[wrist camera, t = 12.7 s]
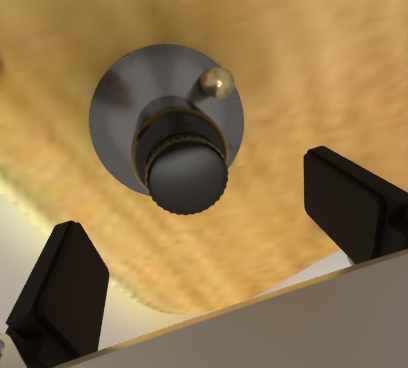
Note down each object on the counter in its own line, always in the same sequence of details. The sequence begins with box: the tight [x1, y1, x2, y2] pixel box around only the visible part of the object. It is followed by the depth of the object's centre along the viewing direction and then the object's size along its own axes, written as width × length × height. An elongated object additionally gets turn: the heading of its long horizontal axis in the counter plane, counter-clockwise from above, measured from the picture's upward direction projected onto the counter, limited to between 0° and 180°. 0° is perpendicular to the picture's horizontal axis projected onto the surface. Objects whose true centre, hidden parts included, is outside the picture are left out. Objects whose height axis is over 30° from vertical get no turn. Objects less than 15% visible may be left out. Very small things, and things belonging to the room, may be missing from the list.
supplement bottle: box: [131, 95, 228, 215], centre depth 20 cm, size 7×7×12 cm
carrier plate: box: [89, 45, 244, 196], centre depth 24 cm, size 15×15×4 cm
